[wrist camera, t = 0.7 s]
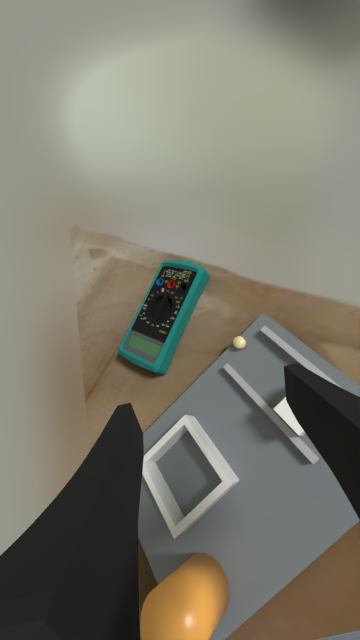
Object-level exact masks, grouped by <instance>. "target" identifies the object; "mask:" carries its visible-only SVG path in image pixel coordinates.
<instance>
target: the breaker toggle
mask: <svg viewBox="0 0 360 640" xmlns="http://www.w3.org/2000/svg"><path fill="white" fill-rule="evenodd" d="M274 410H275V411H276V412H277V413H278V414H279V416H280V417H281V418H282V419H283V420H284V421H285V422H286V423H287V424H288V425H289V426H290V427H291V428H292V429H293V430H294V431H295V432H296V433H297V434H298V435H299V436H303V435H304V434H305V432H304V430H303V429H302V427H301V426H300V424H299V423H298V421H297V420H296V418H295V416H294V414H293V413H292V411H291V409H290V407H289V405H288V403H287V401H286V397H285V398H284V399H283V400H282V401H281V402H280V403H279V404H278V405H277V406H276V407H275V408H274Z"/></svg>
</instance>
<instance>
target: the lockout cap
mask: <svg viewBox="0 0 360 640" xmlns="http://www.w3.org/2000/svg"><path fill="white" fill-rule="evenodd" d="M228 603H229V586H228V581H227V578H226V575H225V573H224V571H223V569H222V567H221V566H220V564H219V563H218V562H217V561H216V560H215V559H214V558H213V557H212V556H210V555H208V554H206V553H197V554H194V555H193V556H191V557H190V558H189V559H188V560H187V561H186V562H184V563H183V564H182V565H181V566H180V567H179V568H177V569H176V570H175V571H174V572H173V573H172V574H170V575H169V576H168V577H167V578H166V579H165V580H163V581H162V582H161V583H160V584H159V585H158V586H157V587H155V588H154V589H153V590H152V591H151V592H150V593H149V594H148V596H147V597H146V599H145V601H144V604H143V607H142V611H141V619H140V630H141V638H142V640H209V638H210V637H211V635H212V633H213V632H214V630H215V628H216V627H217V625H218V623H219V622H220V620H221V618H222V617H223V615H224V613H225V612H226V610H227V607H228Z"/></svg>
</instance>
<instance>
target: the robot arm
mask: <svg viewBox="0 0 360 640" xmlns="http://www.w3.org/2000/svg"><path fill="white" fill-rule="evenodd" d="M284 378H285V392H286V401H287V403H288V405H289V407H290V409H291V411H292V413H293V414H294V416H295V418H296V420H297V421H298V423H299V424H300V426H301V427H302V429H303V430H304V432H305V433H306V435H307V436H308V438H309V439H310V440H311V442H312V443H313V445H314V446H315V448H316V449H317V450H318V452H319V453H320V455H321V456H322V458H323V459H324V461H325V462H326V463H327V465H328V466H329V468H330V469H331V471H332V472H333V474H334V476H335V477H336V479H337V481H338V482H339V484H340V486H341V487H342V489H343V491H344V493H345V494H346V496H347V498H348V500H349V501H350V503H351V505H352V507H353V509H354V510H355V512H356V514H357V516H358V518H359V520H360V397H359V396H357V395H354V394H352V393H350V392H348V391H346V390H344V389H343V388H341V387H339V386H337V385H335V384H333V383H331V382H330V381H328V380H326V379H324V378H322V377H321V376H319V375H317V374H315V373H314V372H312V371H310V370H308V369H307V368H305V367H303V366H301V365H300V364H298V363H294V364H290V365H286V366H284ZM143 459H144V444H143V432H142V430H141V427H140V425H139V423H138V420H137V418H136V415H135V413H134V410H133V408H132V405H131V403H127V404H123V405H119V406H117V408H116V409H115V411H114V413H113V414H112V416H111V418H110V420H109V421H108V423H107V425H106V426H105V428H104V430H103V432H102V433H101V435H100V436H99V438H98V440H97V441H96V443H95V445H94V446H93V448H92V449H91V451H90V452H89V454H88V455H87V457H86V458H85V460H84V461H83V463H82V464H81V466H80V467H79V469H78V470H77V471H76V473H75V474H74V475H73V477H72V478H71V479H70V481H69V482H68V483H67V484H66V486H65V487H64V488H63V490H62V491H61V492H60V493H59V494H58V496H57V497H56V498H55V499H54V500H53V501H52V503H51V504H50V505H49V506H48V507H47V508H46V509H45V510H44V512H43V513H42V514H41V515H40V516H39V517H38V518H37V519H36V520H35V522H34V523H33V524H32V525H31V526H30V527H29V528H28V529H27V530H26V531H25V532H24V533H23V534H22V535H21V536H20V537H19V538H18V539H17V540H16V541H15V542H14V543H13V544H12V545H11V546H10V547H9V548H8V549H7V550H6V551H5V552H4V553H3V554H2V555H1V556H0V640H140V627H139V592H138V516H139V503H140V493H141V482H142V471H143ZM317 640H360V630H358V631H354V632H349V633H344V634H340V635H335V636H331V637H326V638H321V639H317Z"/></svg>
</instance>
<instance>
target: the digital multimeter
mask: <svg viewBox="0 0 360 640" xmlns="http://www.w3.org/2000/svg"><path fill="white" fill-rule="evenodd" d="M180 268H181V269H180ZM185 269H186V270H185ZM209 278H210V276H209V274H208V273H207V271H206V270H205V269H204V268H203V267H201V266H199V265H197V264H194V263H192V262H189V261H183V260H172V261H164V262H162V263H161V265H160V267H159V270H158V272H157V274H156V276H155V278H154V280H153V282H152V284H151V286H150V288H149V291H148V293H147V295H146V297H145V299H144V301H143V303H142V305H141V307H140V309H139V311H138V313H137V315H136V317H135V319H134V321H133V323H132V325H131V326H130V328H129V330H128V332H127V334H126V336H125V338H124V340H123V342H122V344H121V345H120V347H119V349H118V353H119V354H120V355H121V356H123V357H124V358H126V359H127V360H129V361H130V362H132V363H134V364H136V365H138V366H140V367H143V368H145V369H147V370H150V371H152V372H155V373H158V374H160V375H165V374H166V372H167V370H168V367H169V365H170V362H171V360H172V357H173V355H174V353H175V350H176V348H177V345H178V343H179V340H180V338H181V336H182V334H183V332H184V329H185V327H186V325H187V323H188V320H189V318H190V316H191V314H192V312H193V310H194V308H195V306H196V304H197V302H198V300H199V298H200V295H201V294H202V292H203V290H204V288H205V286H206V284H207V282H208V280H209ZM190 287H191V288H190ZM170 296H171V297H170ZM184 300H185V301H184ZM183 302H184V303H183ZM182 304H183V305H182ZM181 306H182V307H181ZM177 315H178V316H177ZM176 317H177V318H176ZM175 319H176V320H175ZM174 321H175V322H174ZM169 332H170V333H169ZM168 334H169V335H168ZM167 336H168V337H167ZM166 338H167V339H166Z"/></svg>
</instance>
